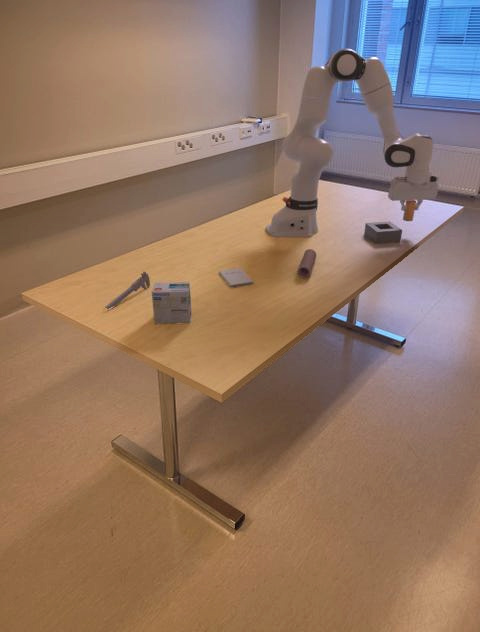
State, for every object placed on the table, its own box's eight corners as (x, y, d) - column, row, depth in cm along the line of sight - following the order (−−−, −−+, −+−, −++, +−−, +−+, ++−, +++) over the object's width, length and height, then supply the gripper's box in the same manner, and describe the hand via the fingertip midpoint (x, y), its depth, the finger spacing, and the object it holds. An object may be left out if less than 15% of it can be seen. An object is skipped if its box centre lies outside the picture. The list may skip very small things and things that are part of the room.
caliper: (147, 287, 169) (146, 269, 166) (150, 287, 169) (148, 270, 165) (102, 312, 154) (100, 293, 151) (105, 313, 153) (102, 294, 150)
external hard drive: (230, 289, 169) (218, 274, 179) (253, 285, 171) (240, 271, 181) (230, 285, 168) (218, 270, 178) (253, 281, 170) (240, 267, 181)
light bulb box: (191, 313, 153) (190, 281, 148) (190, 324, 147) (189, 291, 142) (156, 313, 153) (153, 281, 147) (154, 324, 147) (150, 291, 142)
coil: (311, 268, 172) (317, 249, 188) (298, 265, 173) (305, 247, 188) (309, 280, 175) (315, 260, 190) (296, 278, 176) (303, 258, 191)
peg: (405, 221, 209) (409, 202, 205) (401, 218, 212) (404, 199, 208) (414, 221, 209) (418, 202, 205) (409, 218, 213) (413, 199, 209)
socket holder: (375, 243, 205) (377, 231, 202) (364, 234, 214) (365, 223, 212) (400, 241, 207) (402, 230, 204) (388, 232, 216) (389, 221, 214)
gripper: (395, 179, 197) (389, 213, 204) (442, 177, 201) (435, 211, 208) (388, 175, 203) (382, 208, 209) (434, 174, 207) (427, 207, 213)
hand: (409, 210), depth 209 cm, fingers closed on peg, 4 cm apart
